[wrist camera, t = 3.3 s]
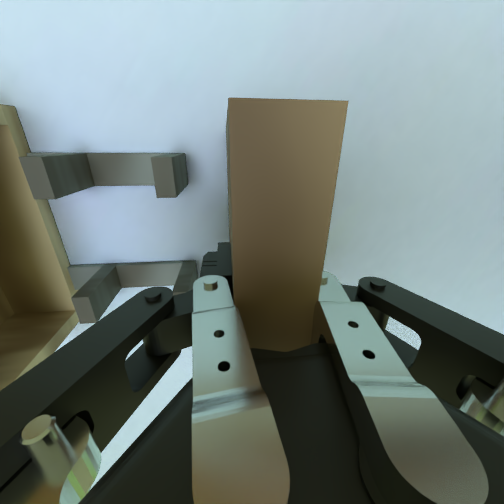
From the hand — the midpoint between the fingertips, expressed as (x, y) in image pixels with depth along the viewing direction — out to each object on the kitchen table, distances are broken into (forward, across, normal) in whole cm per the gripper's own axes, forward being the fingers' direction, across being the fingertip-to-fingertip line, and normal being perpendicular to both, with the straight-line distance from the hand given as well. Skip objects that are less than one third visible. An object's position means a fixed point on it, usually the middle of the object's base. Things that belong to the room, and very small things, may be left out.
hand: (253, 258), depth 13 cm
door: (+6, 0, 0) cm, 6 cm away
